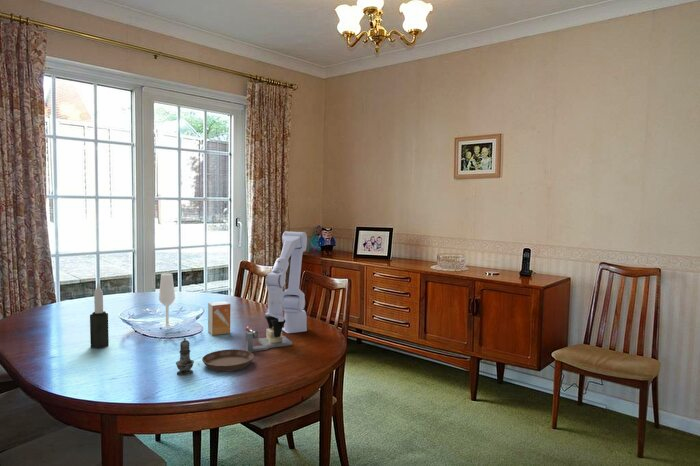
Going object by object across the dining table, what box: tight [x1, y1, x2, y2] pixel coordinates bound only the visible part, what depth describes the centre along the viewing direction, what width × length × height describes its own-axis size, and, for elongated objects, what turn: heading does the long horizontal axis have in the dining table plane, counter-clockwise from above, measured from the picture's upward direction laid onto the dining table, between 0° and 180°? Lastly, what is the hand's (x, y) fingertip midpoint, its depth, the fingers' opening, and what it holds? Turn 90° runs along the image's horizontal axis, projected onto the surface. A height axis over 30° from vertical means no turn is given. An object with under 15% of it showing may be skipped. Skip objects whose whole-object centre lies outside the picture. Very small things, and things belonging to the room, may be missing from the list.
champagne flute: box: [158, 272, 176, 327], centre depth 214 cm, size 7×7×24 cm
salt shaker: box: [175, 337, 195, 377], centre depth 161 cm, size 6×6×12 cm
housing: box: [265, 327, 283, 343], centre depth 195 cm, size 5×5×6 cm
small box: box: [207, 300, 232, 336], centre depth 208 cm, size 8×6×13 cm
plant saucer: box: [201, 348, 254, 372], centre depth 171 cm, size 18×18×3 cm
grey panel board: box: [245, 331, 293, 353], centre depth 193 cm, size 19×12×7 cm, turn 118°
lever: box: [245, 326, 259, 340], centre depth 190 cm, size 2×11×3 cm, turn 28°
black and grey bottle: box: [89, 282, 110, 350], centre depth 186 cm, size 5×5×25 cm
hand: (275, 334), depth 195 cm, fingers closed on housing, 5 cm apart
